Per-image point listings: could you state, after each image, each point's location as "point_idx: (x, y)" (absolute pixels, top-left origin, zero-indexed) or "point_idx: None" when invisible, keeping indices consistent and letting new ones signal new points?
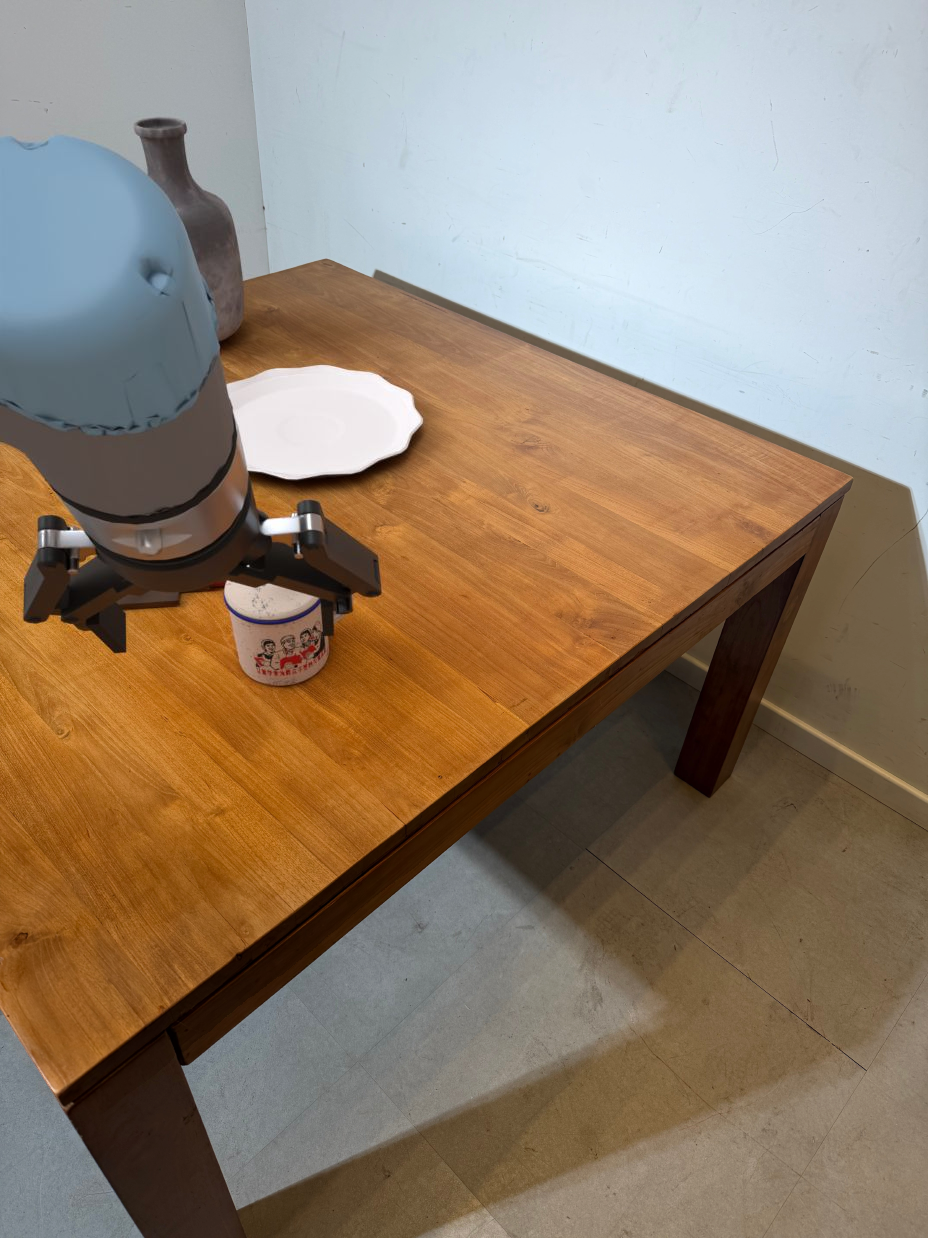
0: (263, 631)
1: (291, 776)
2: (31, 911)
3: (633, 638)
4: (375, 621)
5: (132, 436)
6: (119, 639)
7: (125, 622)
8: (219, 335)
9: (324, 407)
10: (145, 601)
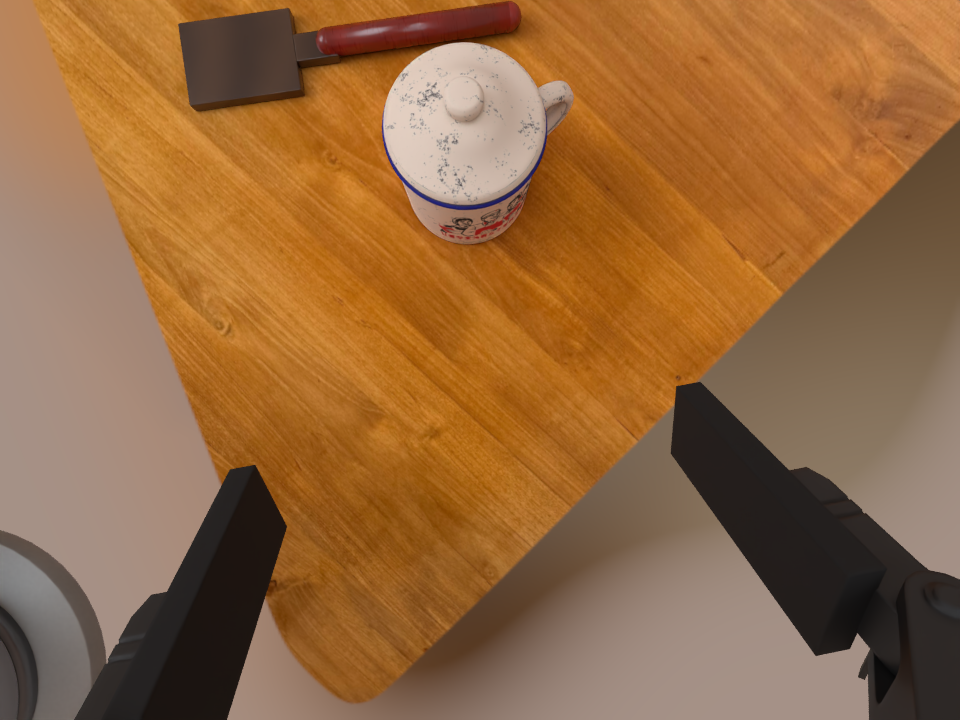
0: (457, 212)
1: (506, 382)
2: None
3: (935, 137)
4: (581, 116)
5: None
6: (266, 566)
7: (262, 484)
8: None
9: None
10: (256, 94)
